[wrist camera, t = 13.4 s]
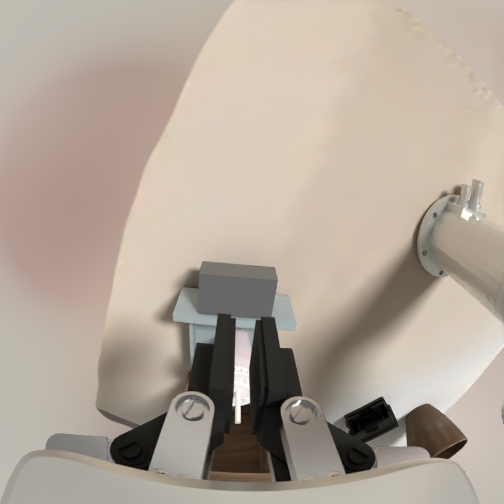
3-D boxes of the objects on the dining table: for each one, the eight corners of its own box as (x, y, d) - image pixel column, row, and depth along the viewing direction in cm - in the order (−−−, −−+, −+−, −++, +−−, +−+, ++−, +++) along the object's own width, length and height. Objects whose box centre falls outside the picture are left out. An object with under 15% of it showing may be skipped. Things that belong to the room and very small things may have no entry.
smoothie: (257, 354, 38) (262, 436, 25) (212, 352, 38) (202, 435, 25) (259, 318, 35) (267, 404, 23) (209, 317, 35) (196, 402, 22)
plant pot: (446, 384, 48) (474, 430, 33) (439, 411, 53) (460, 452, 38) (393, 412, 50) (415, 465, 35) (392, 435, 55) (409, 480, 40)
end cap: (351, 427, 51) (358, 450, 44) (341, 416, 48) (348, 441, 42) (390, 407, 49) (400, 429, 42) (384, 394, 46) (395, 418, 40)
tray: (182, 250, 33) (170, 273, 27) (295, 260, 34) (305, 284, 28) (185, 357, 39) (178, 386, 34) (274, 364, 40) (278, 393, 35)
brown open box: (188, 371, 41) (170, 472, 24) (268, 377, 42) (279, 479, 25) (191, 412, 46) (180, 496, 28) (259, 417, 47) (264, 501, 29)
